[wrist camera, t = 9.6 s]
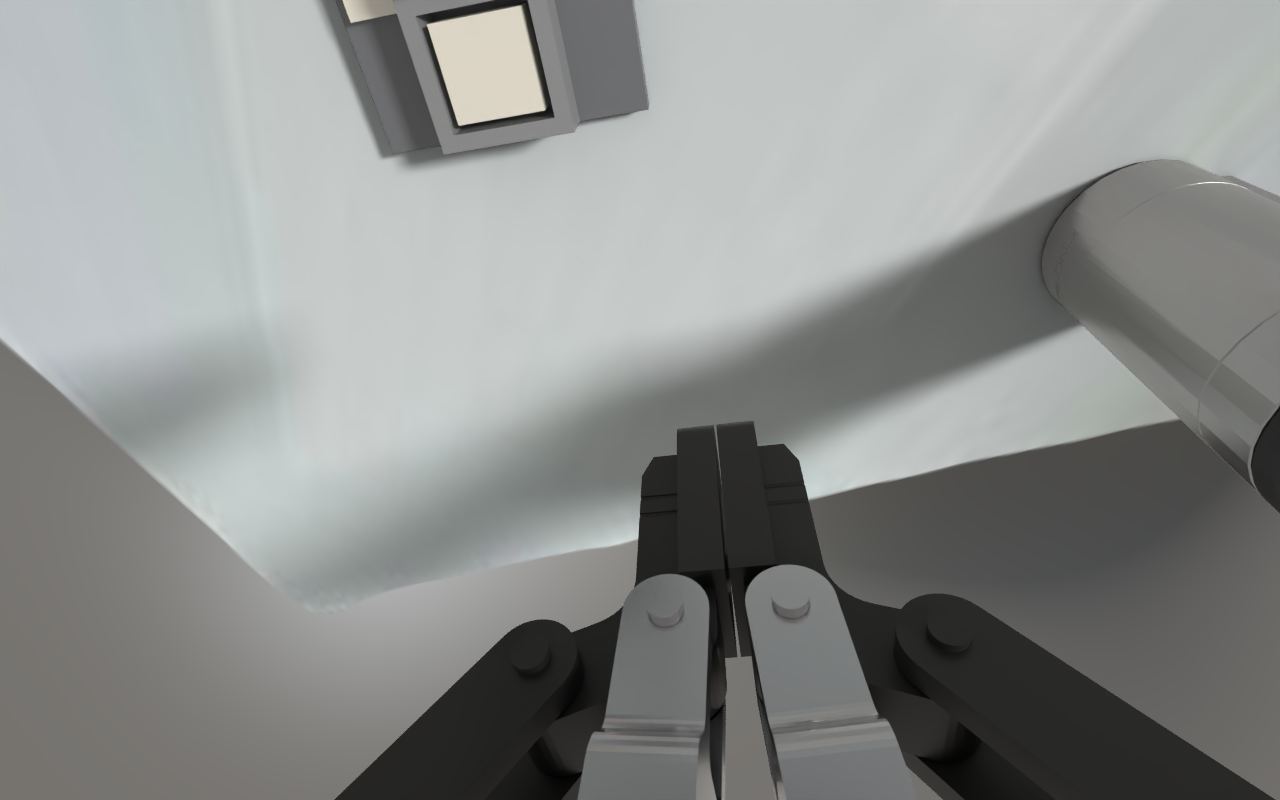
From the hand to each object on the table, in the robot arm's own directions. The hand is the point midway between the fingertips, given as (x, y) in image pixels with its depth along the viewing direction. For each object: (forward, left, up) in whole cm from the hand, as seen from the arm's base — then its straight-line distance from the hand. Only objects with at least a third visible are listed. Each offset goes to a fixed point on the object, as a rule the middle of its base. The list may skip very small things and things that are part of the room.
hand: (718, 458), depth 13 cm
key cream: (+9, -5, -25) cm, 27 cm away
